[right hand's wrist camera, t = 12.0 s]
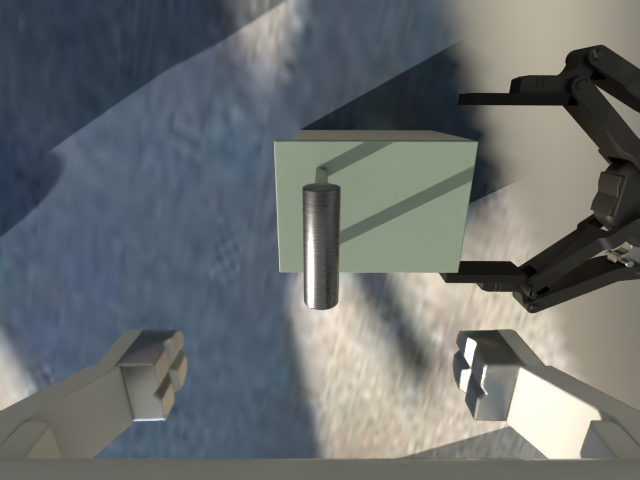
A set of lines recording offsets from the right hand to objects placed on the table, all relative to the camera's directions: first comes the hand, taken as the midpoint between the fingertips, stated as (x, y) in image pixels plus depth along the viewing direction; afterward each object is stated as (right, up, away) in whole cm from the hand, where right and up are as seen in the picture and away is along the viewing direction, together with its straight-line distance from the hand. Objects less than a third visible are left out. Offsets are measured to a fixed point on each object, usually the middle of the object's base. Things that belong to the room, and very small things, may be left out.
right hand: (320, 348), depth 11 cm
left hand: (+10, +7, +17) cm, 21 cm away
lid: (+3, +6, +14) cm, 16 cm away
